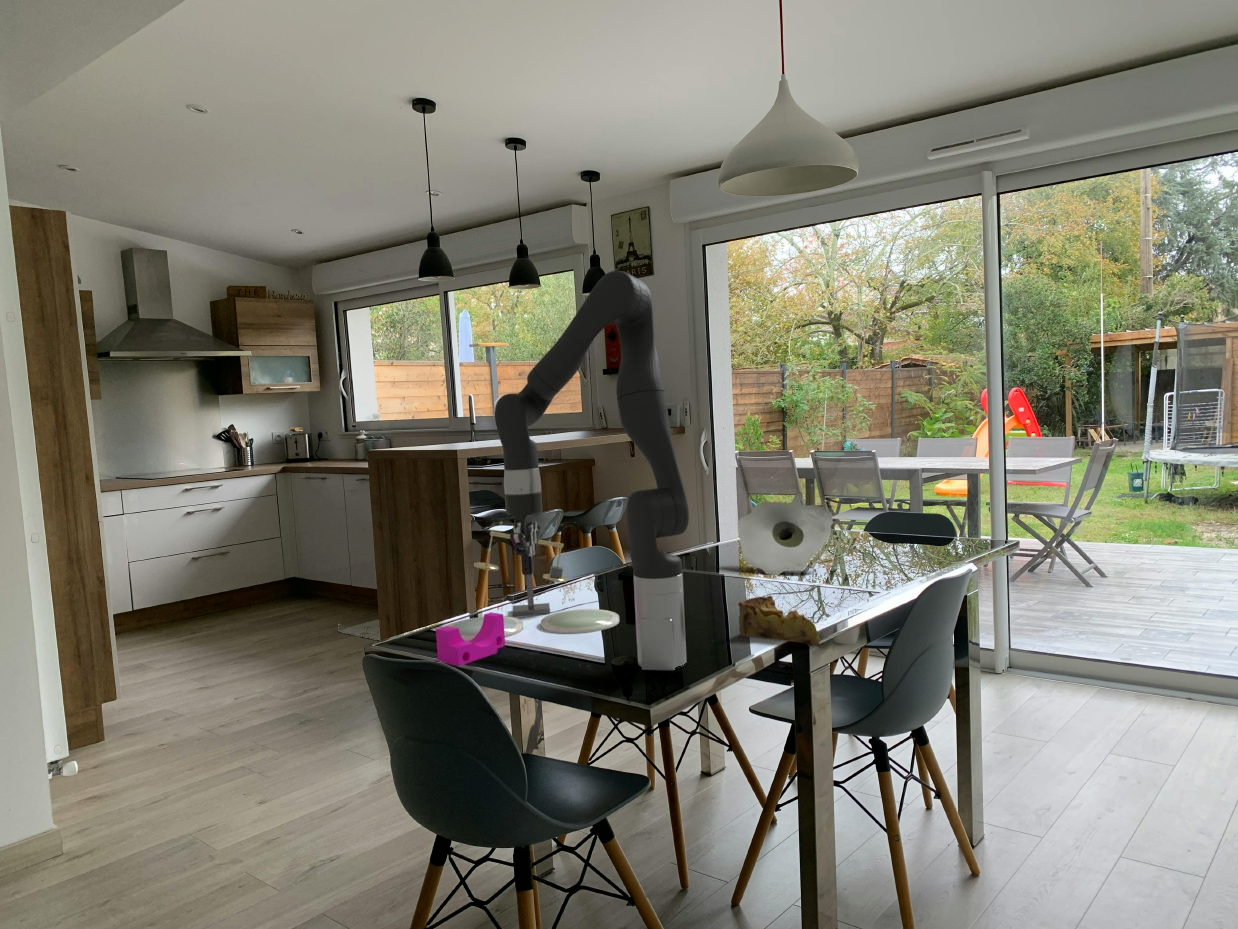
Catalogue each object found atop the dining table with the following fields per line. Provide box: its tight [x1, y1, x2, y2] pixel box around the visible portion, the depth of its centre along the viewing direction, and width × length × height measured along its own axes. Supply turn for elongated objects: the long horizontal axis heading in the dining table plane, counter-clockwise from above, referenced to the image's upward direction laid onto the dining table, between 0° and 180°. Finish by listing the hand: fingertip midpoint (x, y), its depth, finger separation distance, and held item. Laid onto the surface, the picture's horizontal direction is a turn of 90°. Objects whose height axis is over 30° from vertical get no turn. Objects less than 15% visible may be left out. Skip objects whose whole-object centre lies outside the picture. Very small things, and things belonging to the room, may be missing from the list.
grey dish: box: [447, 616, 524, 642], centre depth 199 cm, size 18×18×1 cm
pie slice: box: [737, 595, 821, 645], centre depth 179 cm, size 18×10×8 cm, turn 38°
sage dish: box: [540, 608, 620, 634], centre depth 202 cm, size 18×18×1 cm
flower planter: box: [737, 491, 834, 576], centre depth 258 cm, size 16×30×28 cm
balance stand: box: [512, 574, 551, 617], centre depth 215 cm, size 6×9×17 cm, turn 96°
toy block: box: [435, 611, 506, 667], centre depth 180 cm, size 15×6×8 cm, turn 142°
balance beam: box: [473, 530, 568, 583], centre depth 214 cm, size 6×23×9 cm, turn 96°
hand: (528, 574), depth 181 cm, fingers closed
